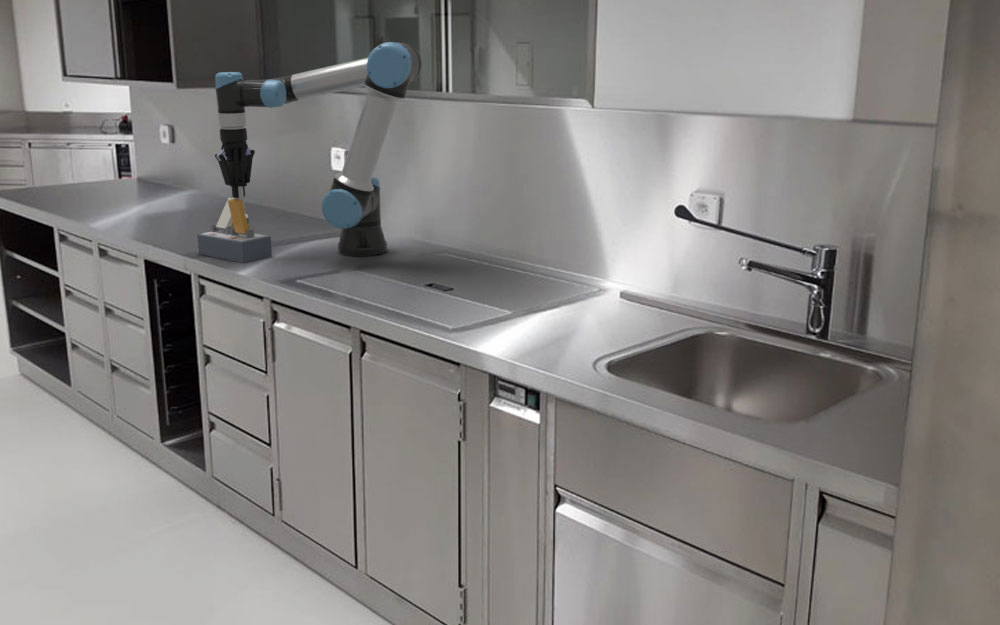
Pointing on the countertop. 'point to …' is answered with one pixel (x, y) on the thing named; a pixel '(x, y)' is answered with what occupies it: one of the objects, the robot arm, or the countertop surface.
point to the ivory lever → (224, 218)
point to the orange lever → (238, 216)
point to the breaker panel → (234, 245)
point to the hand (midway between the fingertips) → (239, 208)
